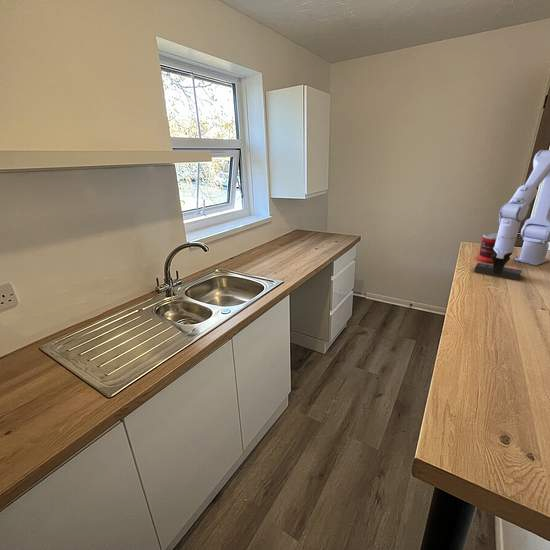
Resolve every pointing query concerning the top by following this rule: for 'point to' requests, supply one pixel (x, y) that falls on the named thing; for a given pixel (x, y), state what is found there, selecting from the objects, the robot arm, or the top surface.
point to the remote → (504, 273)
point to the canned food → (487, 247)
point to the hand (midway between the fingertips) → (497, 271)
